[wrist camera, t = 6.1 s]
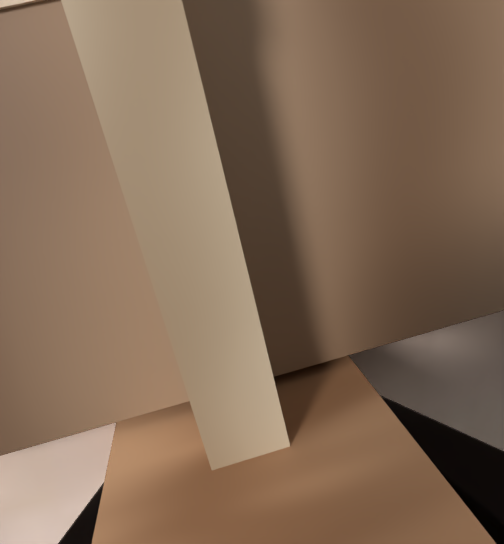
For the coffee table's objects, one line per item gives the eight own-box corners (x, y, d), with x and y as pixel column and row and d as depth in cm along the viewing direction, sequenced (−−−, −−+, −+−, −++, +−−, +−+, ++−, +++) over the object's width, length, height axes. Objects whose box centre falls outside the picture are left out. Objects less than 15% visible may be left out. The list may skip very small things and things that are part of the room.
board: (896, -243, 9) (1111, -355, 7) (818, 173, 11) (955, 181, 9) (-339, -4, 7) (-550, -60, 5) (-91, 426, 9) (-162, 505, 7)
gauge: (246, -72, 8) (451, -668, 2) (343, 430, 11) (521, 742, 5) (-21, -18, 7) (-719, -564, 2) (164, 485, 11) (153, 884, 5)
